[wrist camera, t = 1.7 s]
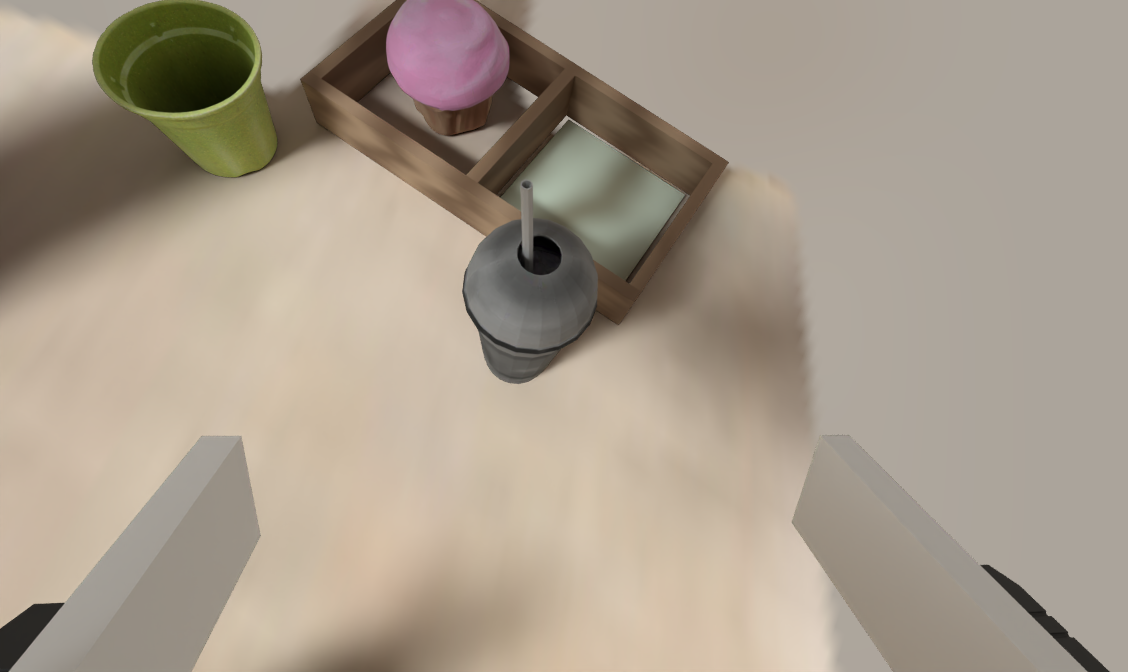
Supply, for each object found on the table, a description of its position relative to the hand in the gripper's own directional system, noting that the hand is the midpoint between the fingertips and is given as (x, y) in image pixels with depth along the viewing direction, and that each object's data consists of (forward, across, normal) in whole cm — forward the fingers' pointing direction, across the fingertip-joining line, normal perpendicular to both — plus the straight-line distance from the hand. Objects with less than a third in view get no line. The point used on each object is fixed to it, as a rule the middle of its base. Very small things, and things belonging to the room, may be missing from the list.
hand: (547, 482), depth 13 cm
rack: (+38, +1, +3) cm, 38 cm away
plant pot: (+37, -21, +2) cm, 43 cm away
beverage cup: (+26, +1, -10) cm, 28 cm away
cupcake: (+40, -5, +5) cm, 41 cm away
